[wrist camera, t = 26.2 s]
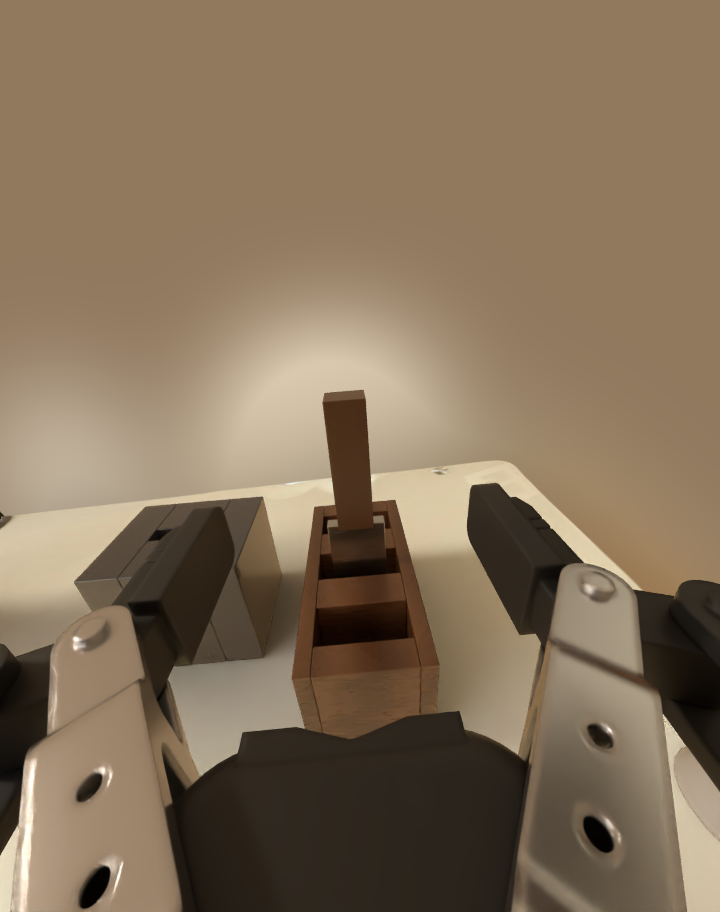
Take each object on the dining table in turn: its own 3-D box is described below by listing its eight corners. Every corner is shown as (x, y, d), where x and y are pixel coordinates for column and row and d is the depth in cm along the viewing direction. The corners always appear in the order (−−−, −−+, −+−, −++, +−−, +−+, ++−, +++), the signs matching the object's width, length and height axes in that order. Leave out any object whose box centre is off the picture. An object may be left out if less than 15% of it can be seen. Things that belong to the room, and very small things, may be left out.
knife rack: (311, 752, 21) (291, 678, 17) (323, 567, 35) (314, 506, 32) (434, 740, 21) (439, 664, 17) (396, 560, 35) (395, 499, 32)
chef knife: (343, 646, 27) (308, 403, 18) (343, 624, 29) (310, 393, 20) (390, 641, 27) (380, 397, 18) (387, 620, 29) (376, 388, 20)
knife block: (128, 670, 26) (72, 582, 22) (178, 583, 34) (145, 506, 30) (263, 658, 26) (234, 567, 22) (281, 574, 35) (263, 496, 30)
